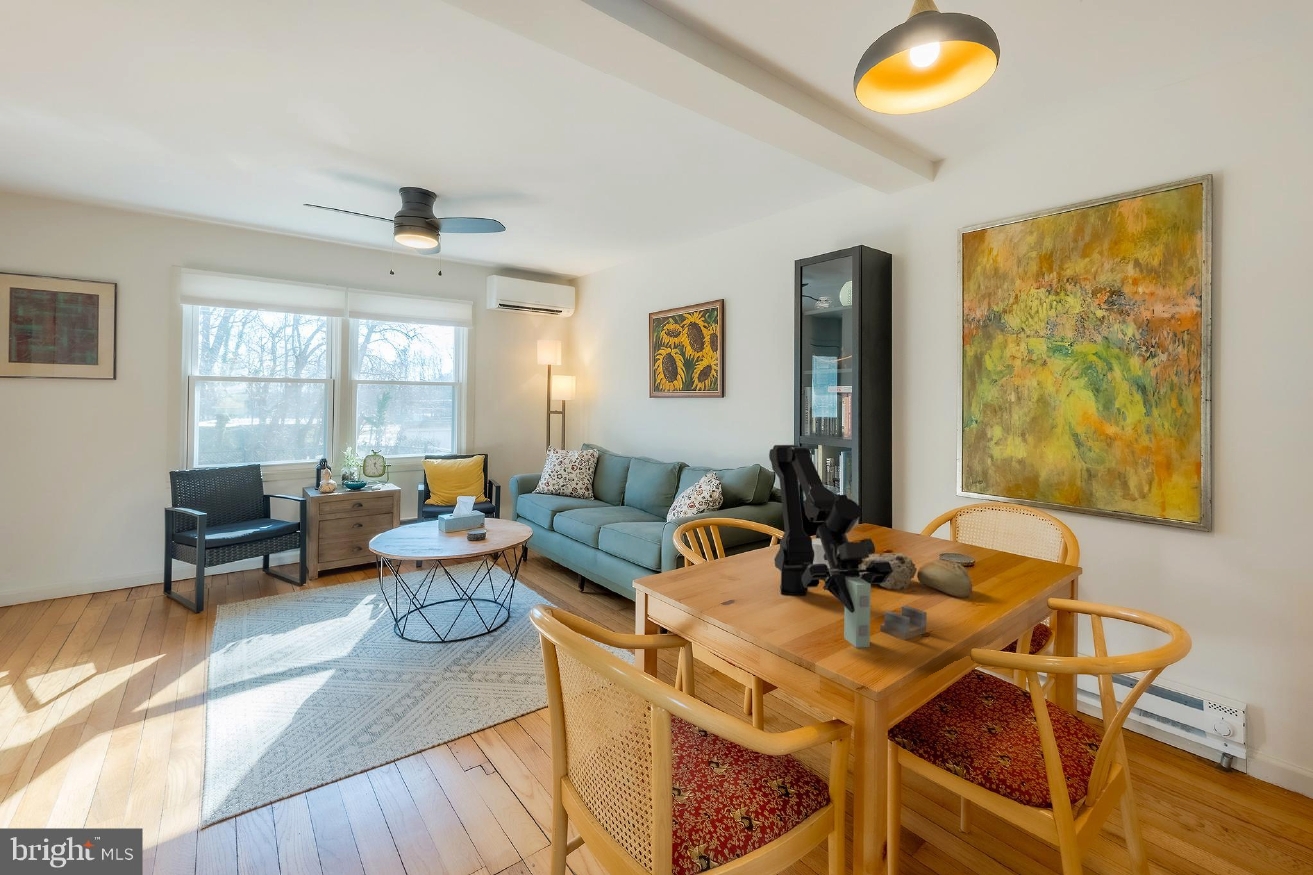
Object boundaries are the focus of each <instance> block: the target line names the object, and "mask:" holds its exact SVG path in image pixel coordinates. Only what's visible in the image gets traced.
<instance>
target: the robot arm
mask: <svg viewBox="0 0 1313 875" xmlns="http://www.w3.org/2000/svg"><path fill="white" fill-rule="evenodd" d="M768 454H769V455H768V457H769V461H770V462H771V463H770V464H771V468H772V470H773V472H774V473H775V475H776V476H777V477H778V478H779V485H780V486H779V487H780V497H781V505H782V506H781V507H782V516H783V517H782V519H783V527H784V532H783V535H782V537H781V539H780V541H779V549H778V551H777V553H776V555H775V557H774V559H773V560H774V567H775V568H776V569H778V570H779V571H780V585H779V588H780V589H779V591H780V594H781V595H795V596H807V592H808V591H809V589H810V588H811V589H812V588H817V587H818V586H819V584H820V583H821V582H820V580H823V582H824V585H823V587H822V588H823V590H824V591H828V592H829V593H830V594H831V595H833V596H834V597H835V598H836V599H837V601H839V602H840V603H841V604H842V605H843V607H844V608H845V607H846V608H847V609H848V610H849V611H850V612H851V613H853V612H854V606H853V603H852V600H851V597H850V595H849V592H848V590H847V587H846V584H845V578H849V577H859V578H861V579H863V580H864V581H866V582H868V583H870V584H871V585H879V584H881V583H884V582H885V581H886V579H887V578H888V577H889V576H890V575H891V573H892V572H893V568H892V566H891V564H890V563H889V562H888V561H871V563H870V564H869V565H868V566H867V568H859V566H858V565H861V564H862V563H863V560H862V559H863V558H868V557H869V555H874V554H876V546H875V544H874V541H873V540H872V538H863V539H861V540H860V541H850V540H849V539H848V536H847V534H848V533H850V532H851V531H852V529H853V527H854V526H855V525H856V523H857V522H858V520H859V519H860V517H861V515H862V508H861V506H860V505H858V503H857V502H856V501H854V500H853V499H850V498H848V496H847V494H837V495H835V494H834V492H833V491H832V490H830V489H828V488H827V487H826V486H825V485H824V483H823V481H822V479H821V477H820V475H819V473H818V471H817V468H816V466H815V463H814V462H813V459H812V457H811V450H810V448H809V447H806V446H799V445H797V444H775V445H773V447H772V448H771V449H769V453H768ZM799 484H800V486H801V489H802V491H803V494H804V496H805V500H804V503H803V508H804V515H805V516H806V517H807V519H808V520H809V522H812V523H820V524H819V526H817V529H816V532H815V539H820V540H821V543H822V546H823V548H824V551H825V554H824V556H823V557H824V560H828V563H829V566H830V568H828V567H827V565H826V564H813V561H814V555H815V554H814V550H813V547H812V539H813V538H812V536H811V535H808V534H807V533H806V532H805V530H804V524H803V516H802V515H803V514H802V508H801V507H802V505H801V498H800V489H799V488H800V487H799Z"/></svg>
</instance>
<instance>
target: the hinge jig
mask: <svg viewBox="0 0 1313 875" xmlns="http://www.w3.org/2000/svg"><path fill="white" fill-rule="evenodd" d="M927 614H928V613H927V612H926V611H924V610H920V609H918V608H915V607H911V606H908V605H903V606H901V613H896V612H895V611H891V610H887V611H885V612H884V622H883V623H879V632H881V633H885V634H887V635H890V636H893V637H895V638H898V639H901V640H903V641H907V640H909V639H912V638H915V637H917V636H920V635H923V634H926V633H927Z"/></svg>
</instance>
